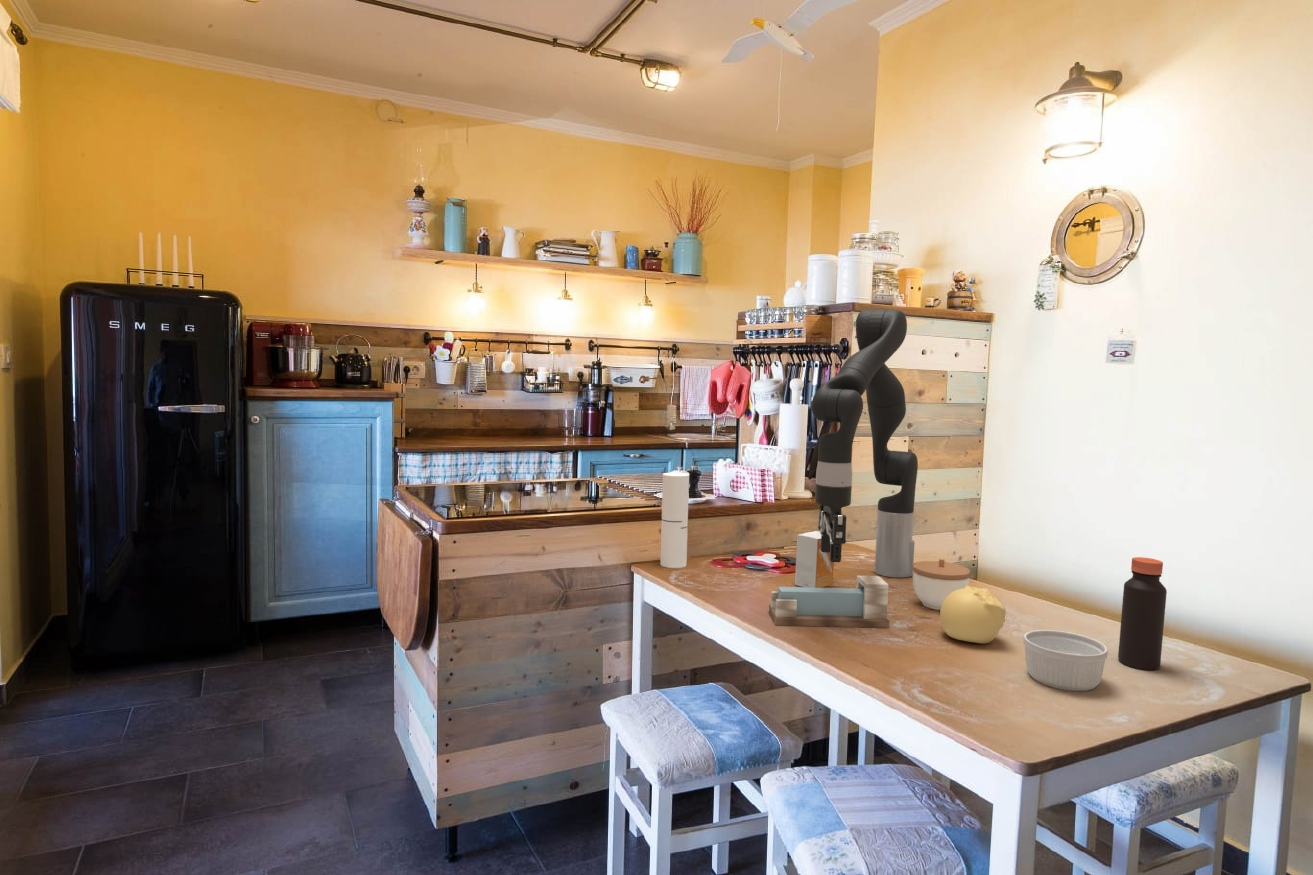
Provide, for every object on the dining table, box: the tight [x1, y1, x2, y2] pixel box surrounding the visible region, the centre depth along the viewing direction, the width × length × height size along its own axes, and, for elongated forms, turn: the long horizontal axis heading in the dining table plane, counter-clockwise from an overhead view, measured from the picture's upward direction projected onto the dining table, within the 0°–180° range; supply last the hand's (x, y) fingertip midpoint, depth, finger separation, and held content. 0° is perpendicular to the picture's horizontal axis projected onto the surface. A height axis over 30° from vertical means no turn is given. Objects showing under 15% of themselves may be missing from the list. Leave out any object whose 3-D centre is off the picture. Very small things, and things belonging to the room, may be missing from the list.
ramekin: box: [1022, 629, 1109, 692], centre depth 136 cm, size 13×13×7 cm
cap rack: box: [768, 575, 890, 629], centre depth 165 cm, size 24×9×9 cm, turn 91°
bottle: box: [1117, 556, 1168, 671], centre depth 143 cm, size 7×7×20 cm
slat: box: [777, 586, 864, 616], centre depth 165 cm, size 20×4×5 cm, turn 91°
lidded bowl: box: [912, 558, 971, 611], centre depth 177 cm, size 13×13×11 cm
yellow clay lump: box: [939, 585, 1007, 644], centre depth 155 cm, size 11×12×11 cm
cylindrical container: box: [660, 472, 690, 569], centre depth 208 cm, size 7×7×25 cm
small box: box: [794, 530, 835, 588], centre depth 192 cm, size 8×6×13 cm
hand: (830, 556), depth 164 cm, fingers open, 8 cm apart
